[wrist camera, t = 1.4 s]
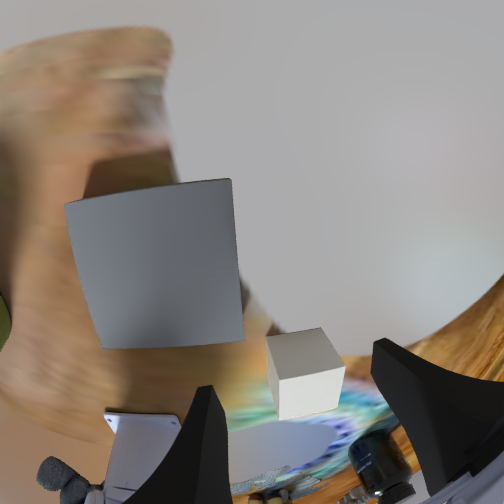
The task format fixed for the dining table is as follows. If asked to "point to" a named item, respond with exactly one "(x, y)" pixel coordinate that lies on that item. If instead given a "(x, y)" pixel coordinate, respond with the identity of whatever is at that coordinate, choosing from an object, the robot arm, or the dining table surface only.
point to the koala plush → (65, 481)
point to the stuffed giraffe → (278, 487)
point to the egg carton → (355, 497)
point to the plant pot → (4, 323)
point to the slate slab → (159, 265)
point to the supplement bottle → (382, 468)
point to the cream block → (303, 373)
